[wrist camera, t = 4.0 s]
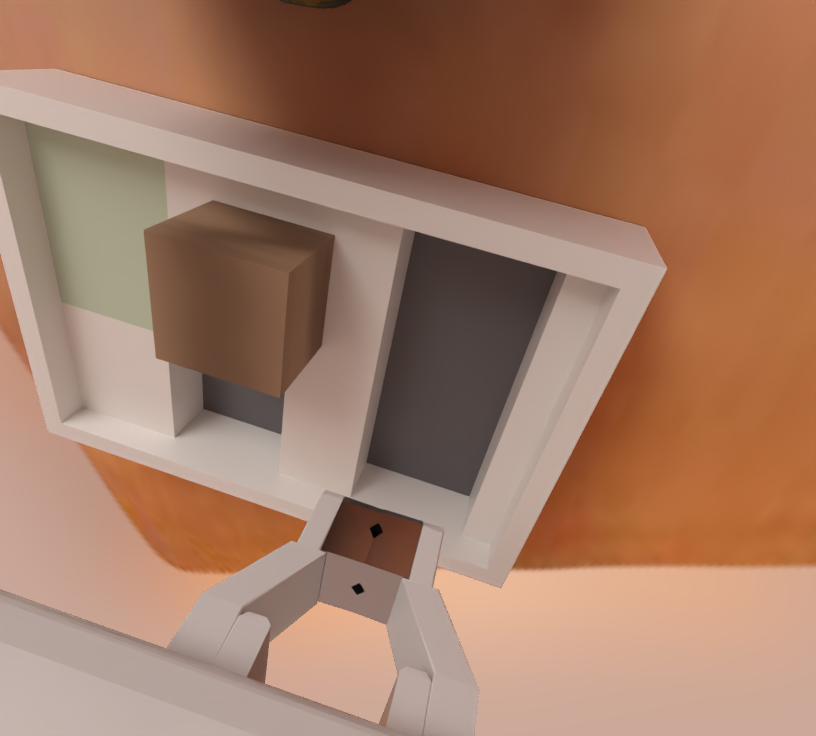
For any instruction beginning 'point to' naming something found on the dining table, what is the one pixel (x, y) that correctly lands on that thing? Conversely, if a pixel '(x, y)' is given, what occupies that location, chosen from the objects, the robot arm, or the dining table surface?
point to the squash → (318, 3)
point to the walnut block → (238, 294)
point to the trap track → (344, 320)
